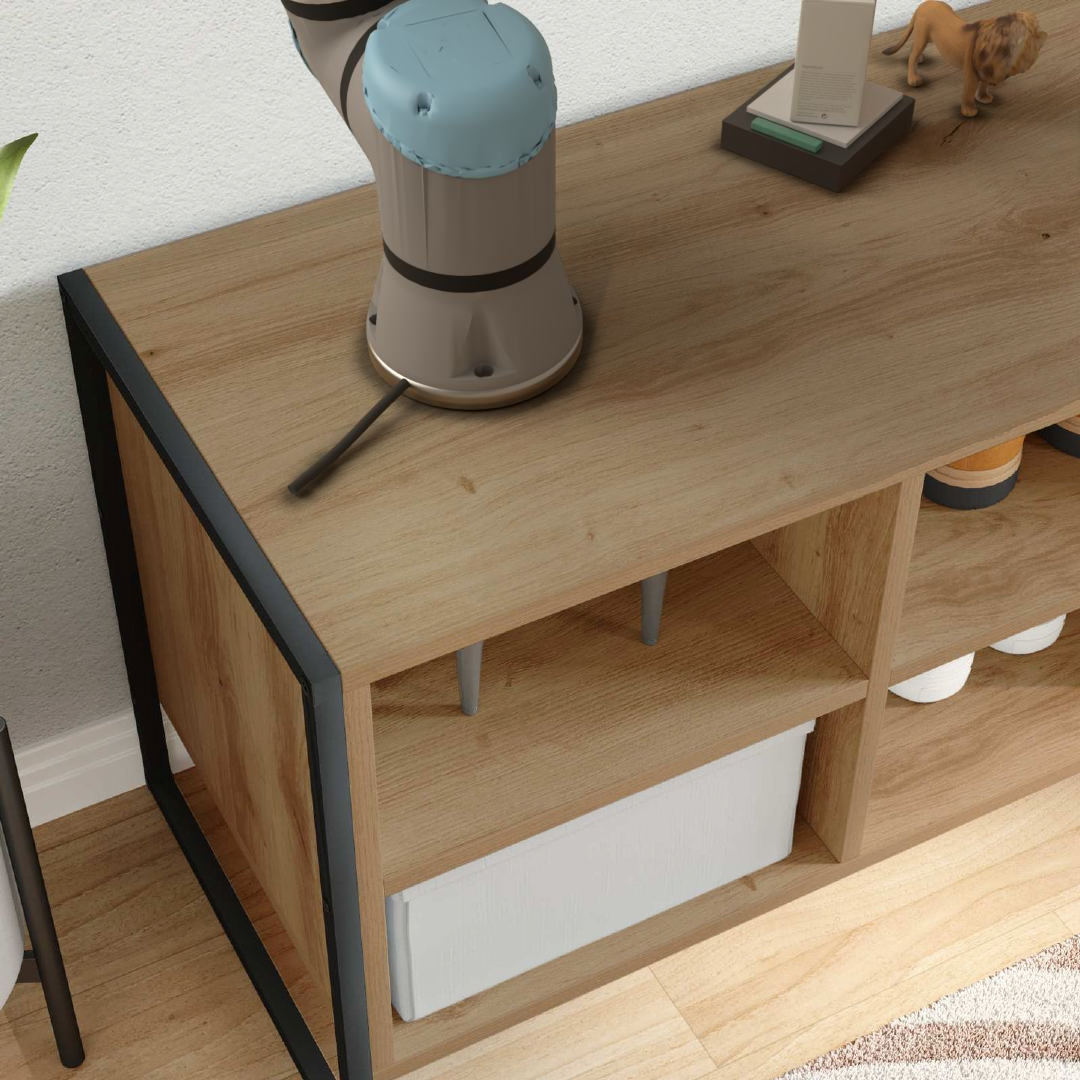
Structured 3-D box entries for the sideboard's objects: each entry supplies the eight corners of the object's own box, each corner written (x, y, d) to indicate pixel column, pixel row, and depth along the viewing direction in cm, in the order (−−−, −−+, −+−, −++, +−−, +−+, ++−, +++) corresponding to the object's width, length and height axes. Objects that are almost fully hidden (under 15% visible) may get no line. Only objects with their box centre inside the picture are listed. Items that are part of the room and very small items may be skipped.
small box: (858, 129, 124) (876, 4, 117) (787, 122, 125) (801, -2, 118) (864, 77, 130) (882, -46, 122) (796, 71, 131) (810, -51, 123)
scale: (837, 192, 124) (842, 158, 121) (720, 147, 128) (722, 113, 126) (911, 125, 130) (917, 92, 128) (796, 84, 135) (800, 51, 133)
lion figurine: (1040, 111, 131) (1065, 10, 125) (1003, 135, 129) (1026, 34, 122) (898, 47, 139) (914, -51, 132) (860, 70, 136) (875, -29, 130)
